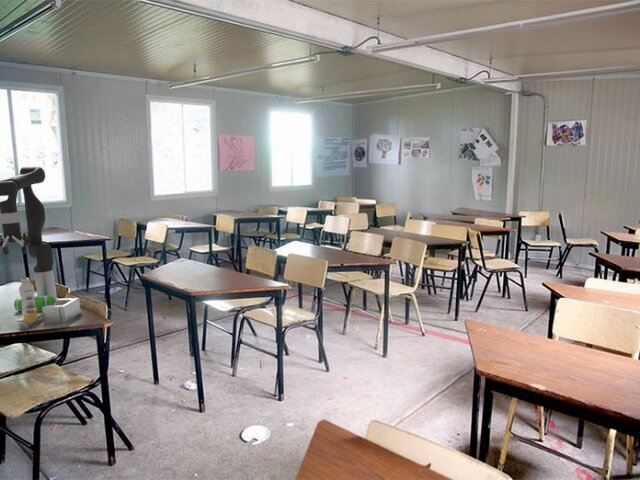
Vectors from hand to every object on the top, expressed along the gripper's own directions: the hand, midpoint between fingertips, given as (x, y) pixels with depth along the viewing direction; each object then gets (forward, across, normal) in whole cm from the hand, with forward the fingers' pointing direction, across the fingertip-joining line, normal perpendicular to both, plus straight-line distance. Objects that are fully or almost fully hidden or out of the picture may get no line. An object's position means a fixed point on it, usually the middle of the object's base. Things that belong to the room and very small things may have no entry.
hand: (15, 253), depth 237 cm
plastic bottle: (+32, +4, -4) cm, 33 cm away
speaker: (+33, -1, +10) cm, 35 cm away
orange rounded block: (+32, +11, -15) cm, 37 cm away
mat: (+32, +5, -4) cm, 33 cm away
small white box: (+33, +18, -10) cm, 39 cm away
